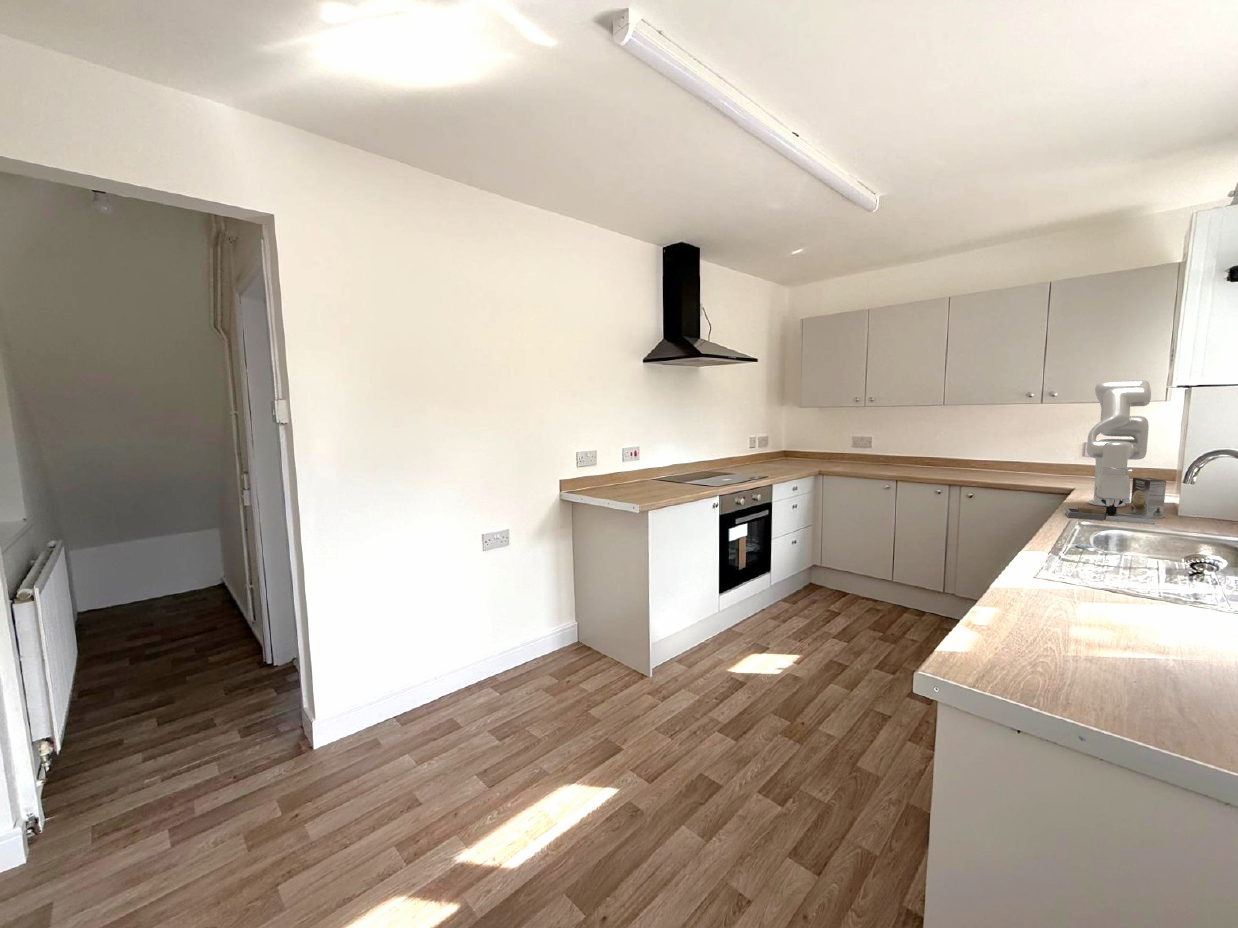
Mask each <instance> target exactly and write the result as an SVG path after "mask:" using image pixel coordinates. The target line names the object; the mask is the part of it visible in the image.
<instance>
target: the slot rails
mask: <svg viewBox="0 0 1238 928" xmlns="http://www.w3.org/2000/svg"><path fill="white" fill-rule="evenodd" d="M1155 519H1156V518H1150V516H1149V515H1135V514H1130V513H1122V512H1121V513H1120V512H1119V513H1117V512H1116V514H1114V516H1108V513H1106V511H1105V519H1104V520H1105V521H1112V522H1113V521H1114V522H1125V523H1136V524H1138V523H1139V524H1147V525H1148V524H1150V525H1152V524H1153V525H1155V522H1156V520H1155Z"/></svg>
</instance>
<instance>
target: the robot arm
mask: <svg viewBox="0 0 1238 928" xmlns="http://www.w3.org/2000/svg"><path fill="white" fill-rule="evenodd" d="M1094 390H1095V391H1094V392H1095V393H1094V394H1095V396H1096V399H1097V400H1098V403H1099V404H1100V421H1099V422H1098V423H1096V424H1095V425H1093V427H1092V428H1091V429H1090V431H1089V433H1088V435H1087V443H1086V453H1087V455H1088V456H1089V458H1093V459H1095V470H1094V471H1095V473H1094V485H1093V499H1091V500H1089V501H1088V504H1089V505H1093V506H1094V505H1095V506H1098V507H1099V506H1100V507H1105V512H1106V513H1108V516H1114V514H1116V513H1117V509H1118V507H1119V508H1120V507H1123V508H1124V507H1125V506H1126V504H1127V503H1131V498H1130V497H1131V482H1130V476H1129V475H1128V474H1132V473H1133V470H1132V469H1130V468H1129V469H1128V462H1129V460H1134V461H1136V460H1143V459H1144V458H1146V455H1147V451H1148V439H1149V421H1148V419H1147V418H1146V417H1145V416H1142V415H1131V407H1146V406H1148V405H1149V404H1150V402H1151V400H1152V399H1151V398H1152V391H1151V390H1152V389H1151V386H1150V383H1149V381H1147V380H1146V379H1145V380H1143V379H1139V380H1138V379H1136V380H1135V379H1134V380H1114V381H1113V380H1112V381H1102V382H1099V383H1097V384H1096V385H1095V388H1094ZM1100 434H1101V435H1103V436H1106V437H1118V438H1103V439H1100V440H1097V437H1098V436H1099V435H1100ZM1119 437H1124V438H1119ZM1125 437H1127V438H1128V437H1129V438H1128V439H1127V438H1125ZM1130 437H1131V439H1130Z"/></svg>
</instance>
